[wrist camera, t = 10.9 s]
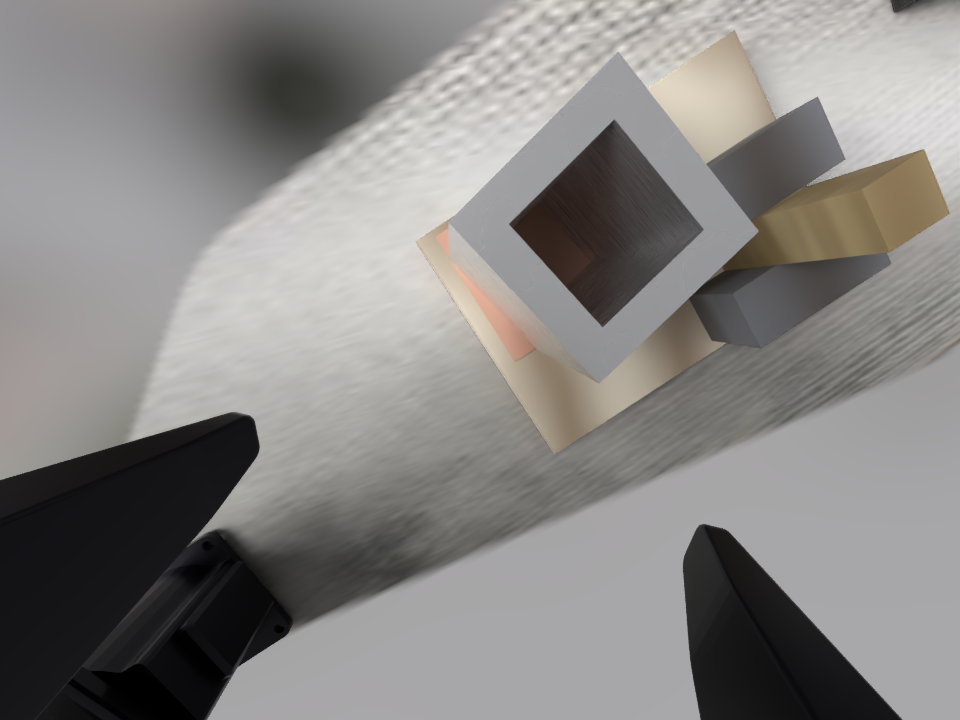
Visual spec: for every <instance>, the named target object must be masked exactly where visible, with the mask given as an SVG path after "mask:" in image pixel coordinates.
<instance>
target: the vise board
mask: <svg viewBox="0 0 960 720" xmlns="http://www.w3.org/2000/svg"><path fill="white" fill-rule="evenodd" d="M647 89H648V90H649V92H650V93H651V94H652V96H653V97H654V98H655V99H656V101H657V102H658V103H659V105H660V106H661V107H662V108H663V110H664V111H665V112H666V113H667V115H668V116H669V117H670V119H671V120H672V121H673V122H674V124H675V125H676V126H677V127H678V129H679V130H680V131H681V133H682V134H683V135H684V136H685V138H686V139H687V140H688V141H689V143H690V144H691V145H692V147H693V148H694V149H695V150H696V152H697V153H698V154H699V156H700V157H701V158H702V159H703V161H704V162H705V163H706V164H707V166H708V167H709V168H710V170H711V171H712V172H713V173H714V175H715V176H716V177H717V178H718V180H719V181H720V182H721V184H722V185H723V186H724V187H725V189H726V190H727V191H728V193H729V194H730V195H731V196H732V198H733V199H734V200H735V201H736V203H737V204H738V205H739V207H740V208H741V209H742V210H743V212H744V213H745V214H746V215H747V217H748V218H749V219H750V221H751V222H752V223H753V224H754V226H755V227H756V228H757V229H758V231H759V232H758V233H757V234H756V235H755V236H754V237H753V238H751V239H750V240H749V241H748V242H747V243H746V244H745V245H744V246H743V247H742V248H741V249H740V250H739V251H738V252H737V253H736V254H735V255H734V256H733V257H732V258H730V259H729V260H728V261H727V262H726V263H725V264H724V265H723V266H722V267H721V268H720V269H719V270H718V271H717V272H716V273H715V274H714V275H713V276H712V277H711V278H710V279H708V280H707V281H706V282H705V283H704V284H703V285H702V286H701V287H700V288H699V289H698V290H697V291H696V292H695V293H694V294H693V295H692V296H691V297H690V298H689V299H688V300H686V301H685V302H684V303H683V304H682V305H681V306H680V307H679V308H678V309H677V310H676V311H675V312H674V313H673V314H672V315H671V316H670V317H669V318H668V319H667V320H665V321H664V322H663V323H662V324H661V325H660V326H659V327H658V328H657V329H656V330H655V331H654V332H653V333H652V334H651V335H650V336H649V337H648V338H647V339H646V340H645V341H643V342H642V343H641V344H640V345H639V346H638V347H637V348H636V349H635V350H634V351H633V352H632V353H631V354H630V355H629V356H628V357H627V358H626V359H625V360H624V361H622V362H621V363H620V364H619V365H618V366H617V367H616V368H615V369H614V370H613V371H612V372H611V373H610V374H609V375H608V376H607V377H606V378H605V379H604V380H603V381H602V382H600V383H598V382H596V381H594V380H592V379H590V378H588V377H587V376H585V375H583V374H581V373H579V372H577V371H576V370H574V369H572V368H570V367H568V366H566V365H565V364H563V363H561V362H559V361H557V360H555V359H554V358H552V357H550V356H548V355H546V354H545V353H543V352H541V351H539V350H537V349H535V348H534V347H533V346H532V345H531V344H530V343H529V342H528V341H527V340H526V339H525V338H524V337H523V336H522V335H521V334H520V333H519V331H518V330H517V329H516V328H515V327H514V326H513V325H512V324H511V323H510V322H509V321H508V320H507V319H506V318H505V317H504V316H503V315H502V314H501V313H500V312H499V311H498V309H497V308H496V307H495V306H494V305H493V304H492V303H491V302H490V301H489V300H488V299H487V298H486V297H485V296H484V295H483V294H482V293H481V292H480V291H479V290H478V289H477V287H476V286H475V285H474V284H473V283H472V282H471V281H470V280H469V279H468V278H467V277H466V276H465V275H464V274H463V273H462V272H461V271H460V270H459V269H458V268H457V267H456V265H455V264H454V263H453V262H452V261H451V260H450V259H449V235H448V222H449V221H450V220H451V219H452V218H453V217H454V216H453V217H452V218H450V219H449V220H447V221H446V222H444V223H443V224H441V225H440V226H438V227H437V228H435V229H434V230H432V231H431V232H429V233H428V234H426V235H425V236H423V237H422V238H420V239H419V240H417V241H416V243H417V245H418V247H419V248H420V250H421V251H422V253H423V254H424V256H425V257H426V259H427V260H428V262H429V263H430V265H431V266H432V268H433V270H434V271H435V273H436V274H437V276H438V277H439V279H440V280H441V282H442V283H443V285H444V286H445V288H446V289H447V291H448V293H449V294H450V296H451V297H452V299H453V300H454V302H455V303H456V305H457V306H458V308H459V309H460V311H461V312H462V314H463V316H464V317H465V319H466V320H467V322H468V323H469V325H470V326H471V328H472V329H473V331H474V332H475V334H476V336H477V337H478V339H479V340H480V342H481V343H482V345H483V346H484V348H485V349H486V351H487V352H488V354H489V355H490V357H491V359H492V360H493V362H494V363H495V365H496V366H497V368H498V369H499V371H500V372H501V374H502V375H503V377H504V378H505V380H506V382H507V383H508V385H509V386H510V388H511V389H512V391H513V392H514V394H515V395H516V397H517V398H518V400H519V401H520V403H521V405H522V406H523V408H524V409H525V411H526V412H527V414H528V415H529V417H530V418H531V420H532V421H533V423H534V424H535V426H536V428H537V429H538V431H539V432H540V434H541V435H542V437H543V438H544V440H545V441H546V443H547V444H548V446H549V447H550V449H551V450H552V452H553V453H554V455H555V454H556V453H558V452H559V451H561V450H562V449H564V448H566V447H567V446H569V445H570V444H572V443H573V442H575V441H576V440H578V439H579V438H581V437H583V436H584V435H586V434H587V433H589V432H590V431H592V430H593V429H595V428H596V427H598V426H600V425H601V424H603V423H604V422H606V421H607V420H609V419H610V418H612V417H613V416H615V415H617V414H618V413H620V412H621V411H623V410H624V409H626V408H627V407H629V406H630V405H632V404H634V403H635V402H637V401H638V400H640V399H641V398H643V397H644V396H646V395H647V394H649V393H650V392H652V391H654V390H655V389H657V388H658V387H660V386H661V385H663V384H664V383H666V382H667V381H669V380H671V379H672V378H674V377H675V376H677V375H678V374H680V373H681V372H683V371H684V370H686V369H688V368H689V367H691V366H692V365H694V364H695V363H697V362H698V361H700V360H701V359H703V358H705V357H706V356H708V355H709V354H711V353H712V352H714V351H715V350H717V349H718V348H720V347H722V346H723V345H725V344H726V343H729V344H736V345H743V346H749V347H756V348H762V347H763V346H765V345H766V344H768V343H769V342H771V341H773V340H774V339H776V338H777V337H779V336H780V335H782V334H783V333H785V332H786V331H788V330H790V329H791V328H793V327H794V326H796V325H797V324H799V323H800V322H802V321H803V320H805V319H807V318H808V317H810V316H811V315H813V314H814V313H816V312H817V311H819V310H821V309H822V308H824V307H825V306H827V305H828V304H830V303H831V302H833V301H834V300H836V299H838V298H839V297H841V296H842V295H844V294H845V293H847V292H848V291H850V290H851V289H853V288H855V287H856V286H858V285H859V284H861V283H862V282H864V281H865V280H867V279H868V278H870V277H872V276H873V275H875V274H876V273H878V272H879V271H881V270H882V269H884V268H885V267H887V266H889V265H890V264H891V262H890V260H889V257H888V255H887V253H889V252H891V251H892V250H894V249H896V248H897V247H899V246H900V245H902V244H903V243H905V242H906V241H908V240H909V239H911V238H913V237H914V236H916V235H917V234H919V233H920V232H922V231H923V230H925V229H926V228H928V227H930V226H931V225H933V224H934V223H936V222H937V221H939V220H940V219H942V218H943V217H945V216H947V215H948V214H950V213H949V210H948V208H947V205H946V203H945V200H944V198H943V195H942V193H941V190H940V188H939V185H938V183H937V180H936V178H935V176H934V173H933V171H932V168H931V166H930V163H929V161H928V158H927V156H926V153H925V151H924V149H923V150H920V151H917V152H913V153H910V154H907V155H904V156H901V157H898V158H895V159H892V160H888V161H885V162H882V163H879V164H876V165H873V166H870V167H867V168H864V169H860V170H857V171H854V172H851V173H848V174H845V175H842V176H839V177H835V178H832V179H829V180H826V181H823V182H820V183H817V184H814V185H811V186H806V185H807V184H808V183H810V182H811V181H813V180H814V179H816V178H817V177H819V176H820V175H822V174H823V173H825V172H826V171H828V170H829V169H831V168H833V167H834V166H836V165H837V164H839V163H840V162H842V161H843V160H845V157H844V155H843V153H842V150H841V148H840V146H839V144H838V141H837V139H836V137H835V135H834V132H833V130H832V128H831V126H830V123H829V121H828V119H827V116H826V114H825V112H824V110H823V107H822V105H821V103H820V101H819V98H818V97H816V98H814V99H813V100H811V101H809V102H807V103H805V104H804V105H802V106H800V107H798V108H796V109H795V110H793V111H791V112H789V113H787V114H786V115H784V116H782V117H780V118H778V119H777V120H776V119H775V116H774V114H773V112H772V110H771V108H770V106H769V103H768V101H767V99H766V97H765V95H764V93H763V91H762V88H761V86H760V84H759V82H758V80H757V78H756V75H755V73H754V71H753V69H752V67H751V65H750V62H749V60H748V58H747V56H746V54H745V52H744V49H743V47H742V45H741V43H740V41H739V39H738V36H737V34H736V32H735V30H734V31H733V32H731V33H730V34H728V35H727V36H725V37H724V38H722V39H721V40H719V41H718V42H716V43H715V44H713V45H712V46H710V47H709V48H707V49H706V50H704V51H703V52H701V53H700V54H698V55H697V56H695V57H694V58H692V59H690V60H689V61H687V62H686V63H684V64H683V65H681V66H680V67H678V68H677V69H675V70H674V71H672V72H671V73H669V74H668V75H666V76H665V77H663V78H662V79H660V80H659V81H657V82H656V83H654V84H653V85H651V86H650V87H648V88H647ZM513 229H514V230H515V232H516V233H517V234H518V235H519V236H520V237H521V238H522V239H523V240H524V241H525V243H526V244H527V245H528V246H529V247H530V248H531V249H532V250H533V251H534V253H535V254H536V255H537V256H538V257H539V258H540V259H541V260H542V261H543V262H544V264H545V265H546V266H547V267H548V268H549V269H550V270H551V271H552V272H553V273H554V275H555V276H556V277H557V278H558V279H559V280H560V281H561V282H562V283H563V284H564V286H566V285H567V284H568V283H570V282H571V281H572V280H573V279H574V278H575V277H576V276H577V275H578V274H579V273H580V272H581V271H582V270H583V269H584V268H585V267H586V266H587V265H588V264H589V263H590V262H591V261H590V260H589V259H588V258H587V256H586V255H585V254H584V253H583V252H582V251H581V250H580V249H579V247H578V246H577V245H576V244H575V243H574V242H573V241H572V240H571V238H570V237H569V236H568V235H567V234H566V233H565V232H564V230H563V229H562V228H561V227H560V226H559V225H558V224H557V223H556V221H555V220H554V219H553V218H552V217H551V216H550V215H549V213H548V212H547V211H546V210H545V209H544V208H543V207H542V206H541V204H540V203H538V204H537V205H536V206H535V207H534V208H533V209H532V210H531V211H530V212H529V213H528V214H527V215H526V216H525V217H524V218H523V219H522V220H521V221H520V222H519V223H518V224H517V225H516V226H515V227H514V228H513Z"/></svg>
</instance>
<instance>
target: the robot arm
mask: <svg viewBox="0 0 960 720" xmlns="http://www.w3.org/2000/svg"><path fill="white" fill-rule="evenodd" d="M259 449H260V445H259V440H258V435H257V430H256V425H255V421H254V419H253V418H252V417H251V416H250V415H246V414H242V413H238V412H231V413H227V414H224V415H220V416H217V417H213V418H210V419H207V420H203V421H200V422H196V423H193V424H190V425H186V426H183V427H179V428H176V429H173V430H169V431H166V432H162V433H159V434H156V435H152V436H149V437H145V438H142V439H139V440H135V441H132V442H128V443H125V444H122V445H118V446H115V447H111V448H108V449H105V450H102V451H98V452H94V453H91V454H88V455H84V456H81V457H77V458H74V459H71V460H67V461H64V462H60V463H57V464H54V465H50V466H47V467H43V468H40V469H37V470H33V471H30V472H26V473H24V474H20V475H16V476H13V477H9V478H6V479H3V480H0V720H207V719H208V717H209V715H210V714H211V712H212V710H213V708H214V707H215V705H216V703H217V701H218V700H219V698H220V696H221V694H222V693H223V691H224V689H225V688H226V686H227V684H228V683H229V681H230V679H231V677H232V676H233V674H234V672H235V670H236V669H237V667H238V666H240V665H241V664H243V663H245V662H246V661H247V660H249V659H251V658H252V657H254V656H255V655H257V654H258V653H260V652H261V651H263V650H265V649H266V648H268V647H269V646H271V645H272V644H274V643H275V642H277V641H278V640H280V639H282V638H283V637H285V636H286V635H287V634H288V633H289V631H290V629H291V626H292V624H293V623H292V619H291V617H290V616H289V615H288V614H287V612H286V611H285V610H284V609H283V608H282V607H281V605H280V604H279V603H278V602H277V601H276V600H275V598H274V597H273V596H272V595H271V594H270V593H269V591H268V590H267V589H266V588H265V587H264V585H263V584H262V583H261V582H260V581H259V580H258V578H257V577H256V576H255V575H254V574H253V573H252V571H251V570H250V569H249V568H248V567H247V566H246V564H245V563H244V562H243V561H242V560H241V559H240V557H239V556H238V555H237V554H236V553H235V552H234V550H233V549H232V548H231V547H230V546H229V545H228V543H227V542H226V541H225V540H224V539H223V537H222V536H221V535H219V534H218V533H216V532H208V533H206V534H204V535H203V536H201V537H200V538H198V539H197V540H195V541H193V542H192V540H193V539H194V538H195V537H196V536H197V535H198V534H199V532H200V531H201V530H202V529H203V528H204V527H205V525H206V524H207V523H208V522H209V521H210V519H211V518H212V517H213V516H214V514H215V513H216V512H217V510H218V509H219V508H220V506H221V505H222V504H223V502H224V501H225V500H226V498H227V497H228V496H229V494H230V493H231V491H232V490H233V489H234V487H235V486H236V485H237V483H238V482H239V481H240V479H241V478H242V476H243V475H244V474H245V472H246V471H247V470H248V468H249V467H250V466H251V464H252V463H253V461H254V460H255V459H256V457H257V455H258V453H259ZM207 541H210V542H211V543H212V544H213V546H210V545H209V544H208V543H207ZM191 542H192V543H191ZM683 573H684V574H683V575H684V588H685V601H686V613H687V626H688V640H689V651H690V661H691V668H692V674H693V680H694V686H695V691H696V697H697V701H698V708H699V713H700V718H701V720H902V719H901V718H900V717H899V715H898V714H896V712H895V711H894V710H893V709H892V708H891V707H890V706H889V705H888V704H887V702H885V701H884V699H883V698H882V697H881V696H880V695H879V694H878V693H877V692H876V691H875V689H874V688H873V687H872V686H871V685H870V684H869V683H868V682H867V681H866V680H865V679H864V678H863V676H862V675H861V674H860V673H859V672H858V671H857V670H856V669H855V668H854V667H853V666H852V665H851V663H850V662H849V661H848V660H847V659H846V658H845V657H844V656H843V655H842V654H841V653H840V652H839V651H838V649H837V648H836V647H835V646H834V645H833V644H832V643H831V642H830V641H829V640H828V639H827V637H826V636H825V635H824V634H823V633H822V632H821V631H820V630H819V629H818V628H817V627H816V626H815V624H814V623H813V622H812V621H811V620H810V619H809V618H808V617H807V616H806V615H805V614H804V613H803V611H802V610H801V609H800V608H799V607H798V606H797V605H796V604H795V603H794V602H793V601H792V600H791V599H790V597H789V596H788V595H787V594H786V593H785V592H784V591H783V590H782V589H781V588H780V587H779V586H778V584H776V582H775V581H774V580H773V579H772V578H771V577H770V576H769V575H768V574H767V573H766V572H765V571H764V569H763V568H762V567H761V566H760V565H759V564H758V563H757V562H756V561H755V560H754V559H753V557H752V556H751V555H750V554H749V553H748V552H747V551H746V550H745V549H744V548H743V547H742V545H741V544H740V543H739V542H738V541H737V540H736V539H735V538H734V537H733V536H732V535H731V534H730V533H729V532H728V531H727V530H725V529H723V528H718V527H714V526H710V525H706V524H702V525H699V526H698V528H697V529H696V531H695V533H694V536H693V538H692V540H691V542H690V544H689V546H688V549H687V551H686V553H685V556H684V561H683ZM278 624H281V625H283V626H284V627H280V626H279V625H278Z"/></svg>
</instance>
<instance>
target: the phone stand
mask: <svg viewBox="0 0 960 720" xmlns="http://www.w3.org/2000/svg"><path fill="white" fill-rule="evenodd" d="M891 1H892V4H893V8H894V11H895V12H896V11H898V10H900V9H902V8H904V7H906V6H908V5H910V4H912V3H914V2H916V1H917V0H891Z"/></svg>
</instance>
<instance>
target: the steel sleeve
mask: <svg viewBox="0 0 960 720" xmlns="http://www.w3.org/2000/svg"><path fill="white" fill-rule="evenodd" d="M538 203H540V204H541V206H542V207H543V208H544V209H545V210H546V211H547V212H548V213H549V215H550V216H551V217H552V218H553V219H554V220H555V221H556V223H557V224H558V225H559V226H560V227H561V228H562V229H563V230H564V232H565V233H566V234H567V235H568V236H569V237H570V238H571V240H572V241H573V242H574V243H575V244H576V245H577V246H578V247H579V249H580V250H581V251H582V252H583V253H584V254H585V255H586V256H587V258H588V259H589V260H590V261H591V262H590V263H589V264H588V265H587V266H586V267H585V268H584V269H583V270H582V271H581V272H580V273H579V274H578V275H577V276H576V277H575V278H574V279H573V280H572V281H571V282H570V283H568V284H567V285H566V286H564V284H563V283H562V282H561V281H560V280H559V279H558V278H557V277H556V276H555V275H554V273H553V272H552V271H551V270H550V269H549V268H548V267H547V266H546V265H545V264H544V262H543V261H542V260H541V259H540V258H539V257H538V256H537V255H536V254H535V253H534V251H533V250H532V249H531V248H530V247H529V246H528V245H527V244H526V243H525V241H524V240H523V239H522V238H521V237H520V236H519V235H518V234H517V233H516V232H515V230H514V229H513V228H514V227H515V226H516V225H517V224H518V223H519V222H520V221H521V220H522V219H523V218H524V217H525V216H526V215H527V214H528V213H529V212H530V211H531V210H532V209H533V208H534V207H535V206H536V205H537V204H538ZM758 232H759V231H758V229H757V228H756V227H755V226H754V224H753V223H752V222H751V221H750V219H749V218H748V217H747V215H746V214H745V213H744V212H743V210H742V209H741V208H740V207H739V205H738V204H737V203H736V201H735V200H734V199H733V198H732V196H731V195H730V194H729V193H728V191H727V190H726V189H725V187H724V186H723V185H722V184H721V182H720V181H719V180H718V178H717V177H716V176H715V175H714V173H713V172H712V171H711V170H710V168H709V167H708V166H707V164H706V163H705V162H704V161H703V159H702V158H701V157H700V156H699V154H698V153H697V152H696V150H695V149H694V148H693V147H692V145H691V144H690V143H689V141H688V140H687V139H686V138H685V136H684V135H683V134H682V133H681V131H680V130H679V129H678V127H677V126H676V125H675V124H674V122H673V121H672V120H671V119H670V117H669V116H668V115H667V113H666V112H665V111H664V110H663V108H662V107H661V106H660V105H659V103H658V102H657V101H656V99H655V98H654V97H653V96H652V94H651V93H650V92H649V90H648V89H647V88H646V87H645V85H644V84H643V83H642V82H641V80H640V79H639V78H638V76H637V75H636V74H635V73H634V71H633V70H632V69H631V68H630V66H629V65H628V64H627V62H626V61H625V60H624V59H623V57H622V56H621V55H620V53H619V52H618V53H617V54H616V55H615V56H614V57H613V58H612V59H611V60H610V61H609V62H608V63H607V64H606V65H605V66H604V67H603V68H602V69H601V70H600V71H599V72H598V73H597V74H596V75H595V76H594V77H593V78H592V79H591V80H590V81H589V82H588V83H587V84H586V85H585V86H584V87H583V88H582V89H581V90H580V91H579V92H578V93H577V94H576V95H575V96H574V97H573V98H572V99H571V100H570V101H569V102H568V103H567V104H566V105H565V106H564V107H563V108H562V109H561V110H560V111H559V112H558V113H557V114H556V115H555V116H554V117H553V118H552V119H551V120H550V121H549V122H548V123H547V124H546V125H545V126H544V127H543V128H542V129H541V130H540V131H539V132H538V133H537V134H536V135H535V136H534V137H533V138H532V139H531V140H530V141H529V142H528V143H527V144H526V145H525V146H524V147H523V148H522V149H521V150H520V151H519V152H518V153H517V154H516V155H515V156H514V157H513V158H512V159H511V160H510V161H509V162H508V163H507V164H506V165H505V166H504V167H503V168H502V169H501V170H500V171H499V172H498V173H497V174H496V175H495V176H494V177H493V178H492V179H491V180H490V181H489V182H488V183H487V184H486V185H485V186H484V187H483V188H482V189H481V190H480V191H479V192H478V193H477V194H476V195H475V196H474V197H473V198H472V199H471V200H470V201H469V202H468V203H467V204H466V205H465V206H464V207H463V208H462V209H461V210H460V211H459V212H458V213H457V214H456V215H455V216H454V217H453V218H452V219H451V220H450V221H449V222H448V235H449V259H450V260H451V261H452V262H453V263H454V264H455V265H456V267H457V268H458V269H459V270H460V271H461V272H462V273H463V274H464V275H465V276H466V277H467V278H468V279H469V280H470V281H471V282H472V283H473V284H474V285H475V286H476V287H477V289H478V290H479V291H480V292H481V293H482V294H483V295H484V296H485V297H486V298H487V299H488V300H489V301H490V302H491V303H492V304H493V305H494V306H495V307H496V308H497V309H498V311H499V312H500V313H501V314H502V315H503V316H504V317H505V318H506V319H507V320H508V321H509V322H510V323H511V324H512V325H513V326H514V327H515V328H516V329H517V330H518V331H519V333H520V334H521V335H522V336H523V337H524V338H525V339H526V340H527V341H528V342H529V343H530V344H531V345H532V346H533V347H534V348H535V349H537V350H539V351H541V352H543V353H545V354H546V355H548V356H550V357H552V358H554V359H555V360H557V361H559V362H561V363H563V364H565V365H566V366H568V367H570V368H572V369H574V370H576V371H577V372H579V373H581V374H583V375H585V376H587V377H588V378H590V379H592V380H594V381H596V382H598V383H600V382H602V381H603V380H604V379H605V378H606V377H607V376H608V375H609V374H610V373H611V372H612V371H613V370H614V369H615V368H616V367H617V366H618V365H619V364H620V363H621V362H622V361H624V360H625V359H626V358H627V357H628V356H629V355H630V354H631V353H632V352H633V351H634V350H635V349H636V348H637V347H638V346H639V345H640V344H641V343H642V342H643V341H645V340H646V339H647V338H648V337H649V336H650V335H651V334H652V333H653V332H654V331H655V330H656V329H657V328H658V327H659V326H660V325H661V324H662V323H663V322H664V321H665V320H667V319H668V318H669V317H670V316H671V315H672V314H673V313H674V312H675V311H676V310H677V309H678V308H679V307H680V306H681V305H682V304H683V303H684V302H685V301H686V300H688V299H689V298H690V297H691V296H692V295H693V294H694V293H695V292H696V291H697V290H698V289H699V288H700V287H701V286H702V285H703V284H704V283H705V282H706V281H707V280H708V279H710V278H711V277H712V276H713V275H714V274H715V273H716V272H717V271H718V270H719V269H720V268H721V267H722V266H723V265H724V264H725V263H726V262H727V261H728V260H729V259H730V258H732V257H733V256H734V255H735V254H736V253H737V252H738V251H739V250H740V249H741V248H742V247H743V246H744V245H745V244H746V243H747V242H748V241H749V240H750V239H751V238H753V237H754V236H755V235H756V234H757V233H758Z"/></svg>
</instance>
